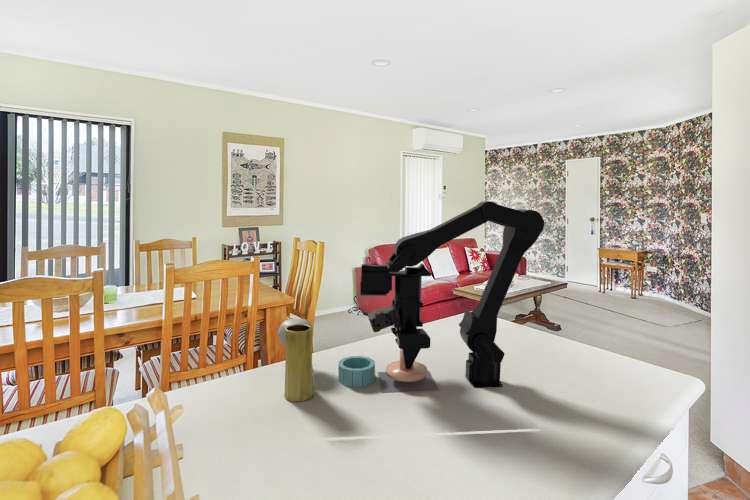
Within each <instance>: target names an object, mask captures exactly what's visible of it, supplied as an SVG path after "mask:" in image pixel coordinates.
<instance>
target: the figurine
mask: <svg viewBox="0 0 750 500" xmlns="http://www.w3.org/2000/svg"><path fill="white" fill-rule="evenodd" d="M294 324H306V325H309V326H311V328H312V336H313V333H314V332H313V331H314V329H313V326H312V324H311V322H310V321H309V320H308V319H305V318H297V317H296V318H288V319H286V320H284V321H283V322H282V323H281V324H280V325H279V328H278V331H277V337H278V341H279V343H280V344H281V345H282V346H284V347H285V348H286V346H285V340H286V335H285V328H286V327H287V326H290V325H294Z"/></svg>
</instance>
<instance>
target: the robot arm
mask: <svg viewBox="0 0 750 500" xmlns="http://www.w3.org/2000/svg"><path fill="white" fill-rule="evenodd" d="M487 222H490V223H493V224H496V225H498V226H499V225H500V226H501V227H503V232H502V246H501V249H500V252H499V253H498V257H497V259H496V260H495V264H494V266H493V267H492V270H491V273H490V276H489V278H488V281H487V283H486V285H485V287H484V289H483V292H482V295H481V297H480V299H479V301H478V303H477V304H476V307H475V308H474V309H472V311H470V310H468V309H465V311H464V312H463V313H464V314H463V318H462V320H461V322H459V323H458V326H459V327H460V328H459V335H460V337H461V340H462V341H463V342H464V344H465V345H466V346H467V348H468V349H469V350H470V351H471V352H468V358H467V359H466V361H465V375H464V377H465V378H466V380H467V381H468V382H469V384H471V385H472V387H473V388H475V389H481V388H504V384H503V383H502V382H501V363H502V362H503V360H504V357H505V352H504V351H503V350H502V349H501V348H500V347H499V346H498V345H497V344H496V343H495V339H496V335H497V332H498V330H497V329H498V316H499V312H500V309H501V308H502V306H503V303H504V301H505V299H506V296H507V294H508V291H509V289H510V287H511V284H512V282H513V279H514V277H515V275H516V272H517V271H518V268H519V267H520V263H521V261H522V259H523V256H524V255H525V253H526V252H527V251H528V250H529V249H530V248H532V246H533V245H534V244H535V243H536V241H537V240H538V238H539V237H540V235H541V234H542V232H543V230H544V229H545V220H544V218H543V216H542V215H541V213H540V212H539V211H537V210H533V209H524V208H523V209H515V208H512V207H508V206H506V205H505V206H504V205H500V204H498V203H496V202H494V201H487V200H486V201H485V200H484V201H483V200H482V201H480V202H479V203H478V204H476V205H475V206H473V207H471V208H469V209H468V210H465V211H464V212H461V213H460V214H457V215H456V216H454V217H452V218H450V219H448V220H446V221H444V222H442V223H441V224H438V225H436V226H435V227H432V228H431V229H427V230H424V231H419V232H415V233H413V234H408V235H406V236H403V237H400V238H399V239H398V240H397V241H396V243H395V244H394V247H393V248H394V251H393V253H392V255H391V256H390V257H389V259H387V261H386V262H385V264H369V263H362V264H361V273H360V274H361V275H360V286H359V287H360V289H359V292H360V294H359V295H360V297H387V296H388V295H387V294H390V292H392V291H393V277H394V297H393V299H391V305H388V306H384V307H382V308H379V309H376V310H373V311H371V312H368V314H367V318H368V321H369V323H370V326H371V328H372V332H373V333H378V332H381V330H384V329H387V328H389V327H391V326H393V327H391V328H390V330H391V333H392V334H393V335H394V336H395V337H396V338H395V339H394V340H395V343H396V344H397V346H398V349H399V350H400V349H402V351H403V357H404V363H405V368H406V369H411V367H412V365H413V363H414V361H415V362H416V359H417V357H418V356H419V353H420V351H421V350H422V349H430V348H431V337H430V335H429V334H428V332H426V331H425V329H423V328H422V327H423V326H424V323H423V320H422V309H423V308H424V302H423V301H422V281H423V280H422V277H431V276H432V273H431V271H430V270H428V269H427V268H426V265H425V264H424V263H422V262H423V261H424V260H425V259H427V258H428V257H430V256H431V255H432V254H433V253H434V252H435V251H436V250H437V249H439V247H441V246H442V245H445V244H447V243H448V242H451V241H452V240H453V241H454V239H456V238H458V237H461V236H463V235H464V234H467V233H468V232H469V231H472V230H474V229H476V228H478V227H480V226H481V225H484V224H485V223H487ZM417 265H419V266H417ZM416 266H417V267H416ZM403 269H404V270H403ZM418 327H421V328H418Z"/></svg>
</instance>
